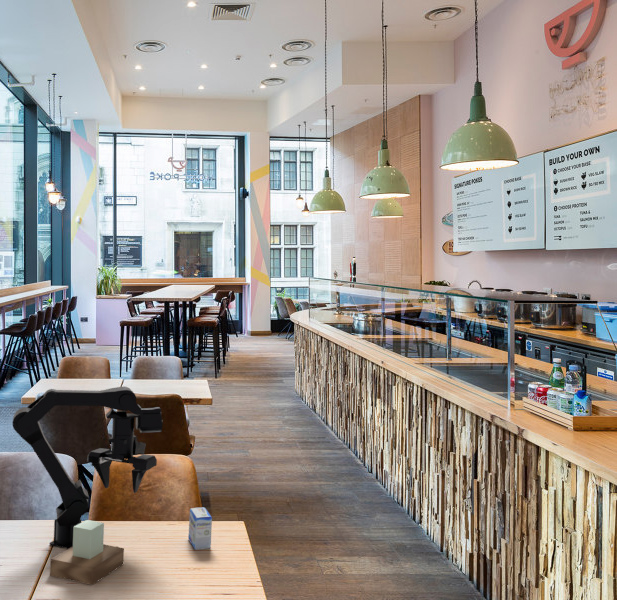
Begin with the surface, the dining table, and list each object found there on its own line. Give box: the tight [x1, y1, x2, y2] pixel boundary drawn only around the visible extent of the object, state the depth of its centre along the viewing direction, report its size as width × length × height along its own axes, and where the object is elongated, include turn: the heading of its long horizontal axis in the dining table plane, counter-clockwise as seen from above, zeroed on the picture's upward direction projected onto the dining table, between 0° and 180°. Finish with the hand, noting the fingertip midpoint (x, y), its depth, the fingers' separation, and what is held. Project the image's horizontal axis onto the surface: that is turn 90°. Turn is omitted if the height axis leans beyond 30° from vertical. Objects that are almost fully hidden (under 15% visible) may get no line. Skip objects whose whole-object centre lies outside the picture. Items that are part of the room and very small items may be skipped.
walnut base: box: [49, 543, 125, 586], centre depth 154 cm, size 12×12×4 cm
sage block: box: [73, 519, 105, 559], centre depth 154 cm, size 5×5×7 cm
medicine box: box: [188, 507, 213, 551], centre depth 172 cm, size 8×4×9 cm, turn 23°
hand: (120, 490), depth 174 cm, fingers open, 9 cm apart
